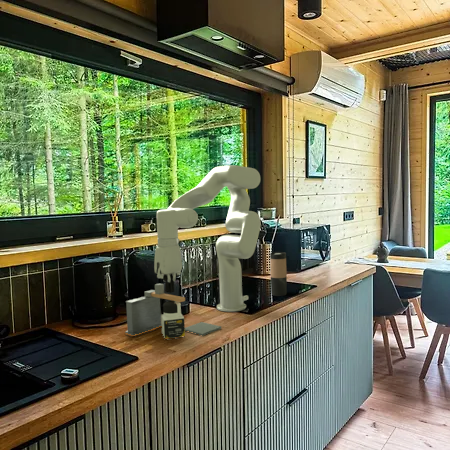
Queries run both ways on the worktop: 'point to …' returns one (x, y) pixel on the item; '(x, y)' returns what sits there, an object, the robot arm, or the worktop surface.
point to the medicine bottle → (172, 320)
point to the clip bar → (162, 294)
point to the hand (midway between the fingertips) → (169, 291)
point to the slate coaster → (202, 328)
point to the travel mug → (278, 273)
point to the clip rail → (143, 314)
